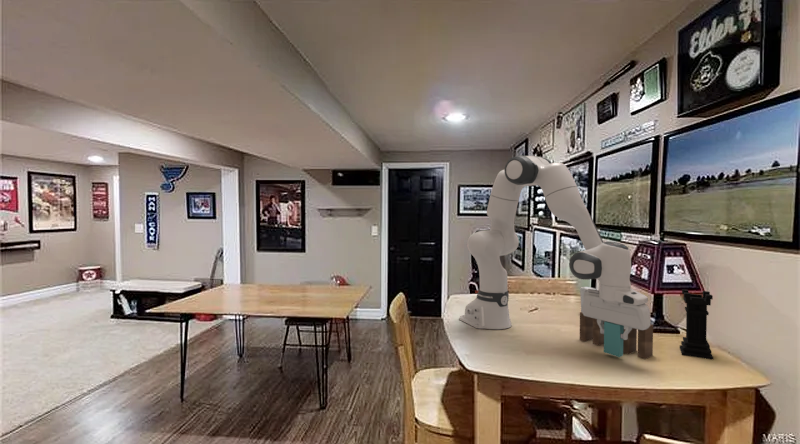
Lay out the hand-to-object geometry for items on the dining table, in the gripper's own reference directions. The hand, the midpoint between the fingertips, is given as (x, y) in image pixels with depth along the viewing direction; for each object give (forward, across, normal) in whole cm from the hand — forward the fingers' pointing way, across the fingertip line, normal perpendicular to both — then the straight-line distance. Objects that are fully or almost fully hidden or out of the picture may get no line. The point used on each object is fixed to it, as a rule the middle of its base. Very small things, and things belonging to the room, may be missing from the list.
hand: (613, 336), depth 127 cm
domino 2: (+7, -10, +9) cm, 15 cm away
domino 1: (+7, -15, +9) cm, 18 cm away
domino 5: (+7, +5, +9) cm, 12 cm away
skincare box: (+7, -33, +40) cm, 52 cm away
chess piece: (+7, +13, +25) cm, 29 cm away
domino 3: (+6, 0, 0) cm, 6 cm away
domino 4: (+7, 0, +9) cm, 11 cm away
